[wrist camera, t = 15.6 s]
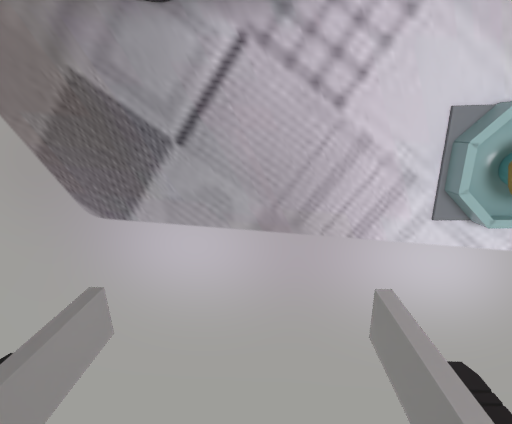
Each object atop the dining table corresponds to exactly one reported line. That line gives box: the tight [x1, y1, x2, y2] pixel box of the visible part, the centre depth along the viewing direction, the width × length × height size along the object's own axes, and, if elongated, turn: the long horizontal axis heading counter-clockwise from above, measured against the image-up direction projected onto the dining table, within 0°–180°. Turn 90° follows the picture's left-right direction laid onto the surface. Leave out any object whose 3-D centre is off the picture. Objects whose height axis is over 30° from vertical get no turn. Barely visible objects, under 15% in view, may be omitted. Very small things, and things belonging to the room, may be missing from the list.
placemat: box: [432, 105, 495, 220], centre depth 37 cm, size 16×18×1 cm
